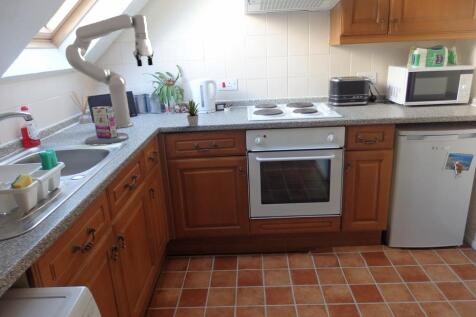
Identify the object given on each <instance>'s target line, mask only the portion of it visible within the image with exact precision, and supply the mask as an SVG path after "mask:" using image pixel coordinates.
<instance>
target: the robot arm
mask: <svg viewBox="0 0 476 317" xmlns="http://www.w3.org/2000/svg"><path fill="white" fill-rule="evenodd" d="M146 19H147V18H146V16H145V14H134V15H130V14H127V13H125V14H124V13H123V14H119V15H115V16H113V17H110V18H109V17H108V18H106V19H103V20H98V21H96V22H93V23H88V24H85V25H82V26H79V27H78V28H77V27H76V28H77V29H76V30H75V36H76V37H75V40H74V42H72V44H68V45H67V47H66V48H65V51H64V52H65V58H66V61H67V62H68V64H69V65H70V66H71V67H72V68H73V69H75V70H76V71H77V72H79V73H80V74H83V75H85V76H87V77H88V78H90V79H92V80H94V81H96V82H98V83H102V84H105V85H106V86H108V90H109V94H110V101H111V107H113V110H114V116H115V122H116V129H121V128H129V127H132V126H134V122H132V121H131V116H130V109H129V102H128V97H127V96H128V95H127V89H126V79H125V78H124V76H122V75H120V74H119V73H118V72H115V71H114V70H112V69H110V68H107V67H105V66H102V65H101V66H100V65H98V64H95V63H93V62H92V61H90V60H88V59H86V58H84V57H85V56H86V53H87V51H88V49H89V48H90V45H91V43H92V42H93V40H96V39H100V38H103V37H107V36H109V35H111V34H112V33H114V32H117V31H121V30H124V29H126V30H130V29H133V30H134V38H135V39H134V48H135V50H134V51H132V55H133V57H134V58H135V60H136V63H137V64H136V65H137V67H143V60H142V59H141V58H142V57H147V65H148V66H153V65H154V63H153V58H154V53H155V52H154V50H152V49H153V48H152V46H151V45H152V44H151V42H150V39H149V35H148V28H147V26H148V25H147V20H146Z"/></svg>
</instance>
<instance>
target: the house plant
mask: <svg viewBox="0 0 476 317" xmlns="http://www.w3.org/2000/svg"><path fill="white" fill-rule="evenodd" d="M188 104H189V106H188V105H187V104H186V103H183V106H185V108H184V109H183V110H182V112H184V113H187V114H188V115H186V119H187V122H188V125H189V127H197V126H199V114H198V113H199V112H200V110H199V108H198V105H200V102H198V103H197V104H196V101H194V100H193V99H191V100H190V99H188Z"/></svg>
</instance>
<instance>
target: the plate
mask: <svg viewBox="0 0 476 317" xmlns="http://www.w3.org/2000/svg"><path fill="white" fill-rule="evenodd" d="M117 135H118V137H115V138H111V139H110V138H98V137H97V134H96V135H92V136H88V137H87V138H85V144H86V143H87V144H86V145H88V144H107V145H113V144H112V143H114V144H118V143H121V142H125V141H126V140H128V139H129V137H130V136H129V133H127V132H126V133H125V132H117Z"/></svg>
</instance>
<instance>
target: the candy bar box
mask: <svg viewBox="0 0 476 317" xmlns="http://www.w3.org/2000/svg"><path fill="white" fill-rule="evenodd" d="M91 110H92V115H93V122H94V127H95V133H96V135H97V137H98V138H110V139H111V138H115V137H118V135H117V133H118V131H117V129H118V128H116V122H115V116H114V110H113V107H112V106H99V105H98V106H93V107H91Z"/></svg>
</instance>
